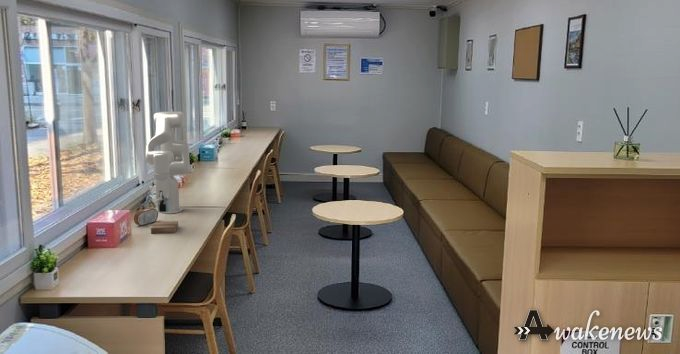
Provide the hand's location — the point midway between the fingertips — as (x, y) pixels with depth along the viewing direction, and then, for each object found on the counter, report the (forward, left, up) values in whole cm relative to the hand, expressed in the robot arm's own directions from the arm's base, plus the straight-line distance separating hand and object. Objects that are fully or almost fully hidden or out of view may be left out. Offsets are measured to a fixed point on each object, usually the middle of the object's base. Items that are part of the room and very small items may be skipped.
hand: (163, 209), depth 302 cm
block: (0, 0, -1) cm, 1 cm away
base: (0, 0, -11) cm, 11 cm away
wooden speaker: (-14, -12, -12) cm, 22 cm away
